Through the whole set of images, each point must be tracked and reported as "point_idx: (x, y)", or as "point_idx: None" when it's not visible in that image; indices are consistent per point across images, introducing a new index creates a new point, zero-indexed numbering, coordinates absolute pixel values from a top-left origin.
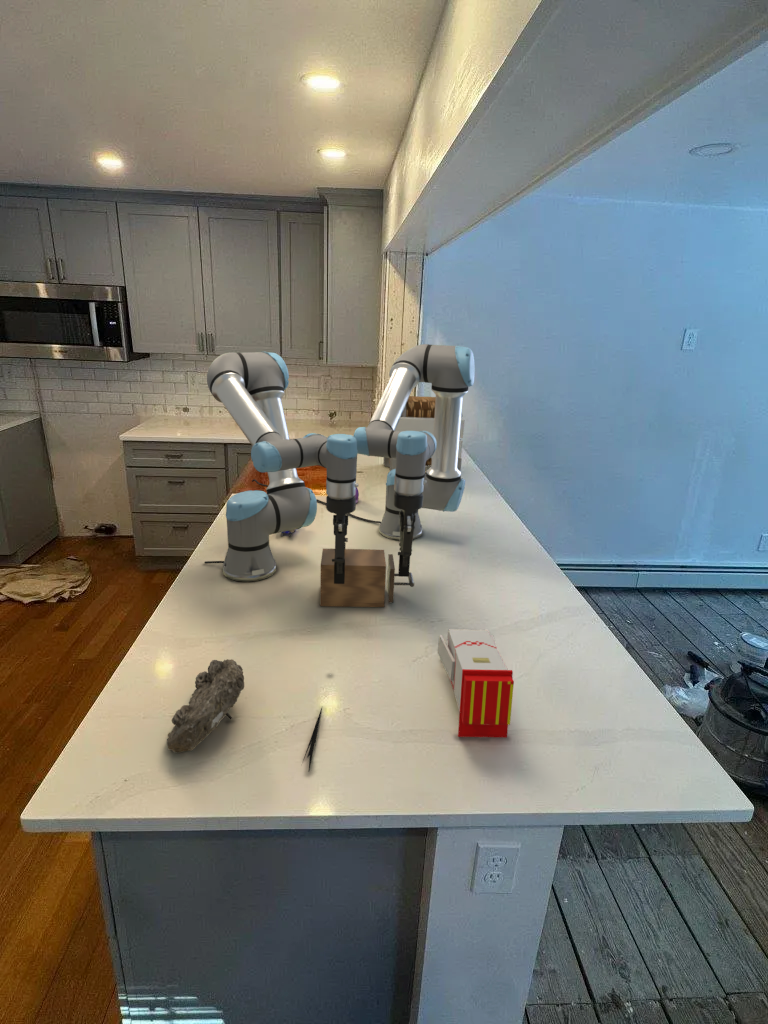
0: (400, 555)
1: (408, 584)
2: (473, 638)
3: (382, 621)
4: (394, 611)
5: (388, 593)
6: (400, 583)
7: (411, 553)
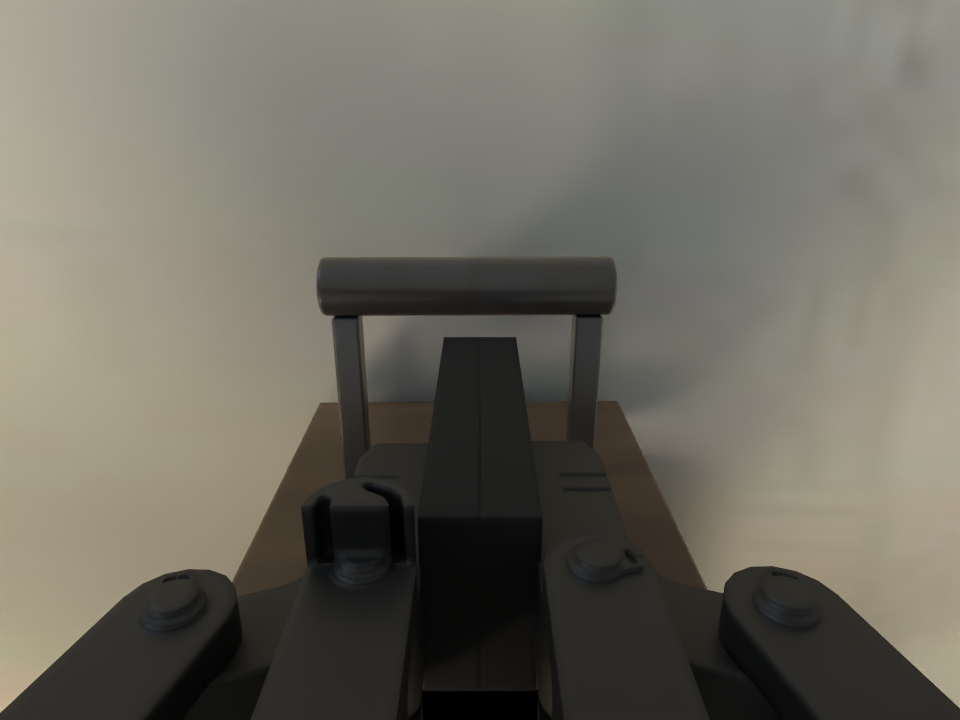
0: (535, 665)
1: (598, 324)
2: None
3: (832, 469)
4: (695, 379)
5: None
6: (594, 415)
7: (813, 600)
